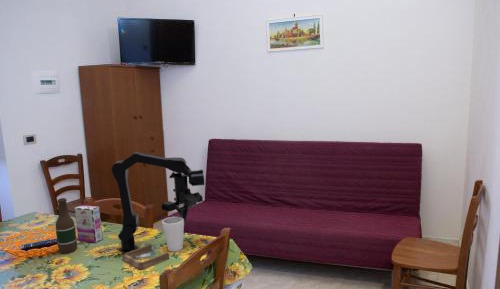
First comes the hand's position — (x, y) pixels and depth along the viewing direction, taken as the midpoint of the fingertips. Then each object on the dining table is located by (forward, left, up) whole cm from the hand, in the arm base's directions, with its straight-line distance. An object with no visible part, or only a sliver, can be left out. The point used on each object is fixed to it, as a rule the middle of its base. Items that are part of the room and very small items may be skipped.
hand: (184, 220), depth 175 cm
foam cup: (0, -6, -11) cm, 13 cm away
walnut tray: (0, -20, -11) cm, 22 cm away
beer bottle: (-37, -38, -11) cm, 54 cm away
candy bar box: (-41, -26, -11) cm, 50 cm away
